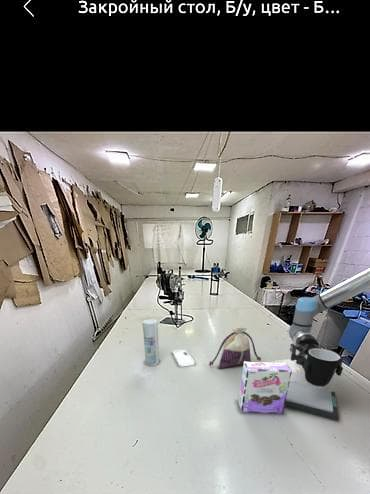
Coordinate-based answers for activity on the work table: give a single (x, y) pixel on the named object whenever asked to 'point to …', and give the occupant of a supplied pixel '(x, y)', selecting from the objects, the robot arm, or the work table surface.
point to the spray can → (151, 341)
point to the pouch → (235, 349)
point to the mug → (321, 366)
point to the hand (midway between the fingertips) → (323, 370)
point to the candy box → (264, 387)
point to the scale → (312, 400)
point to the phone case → (183, 358)
